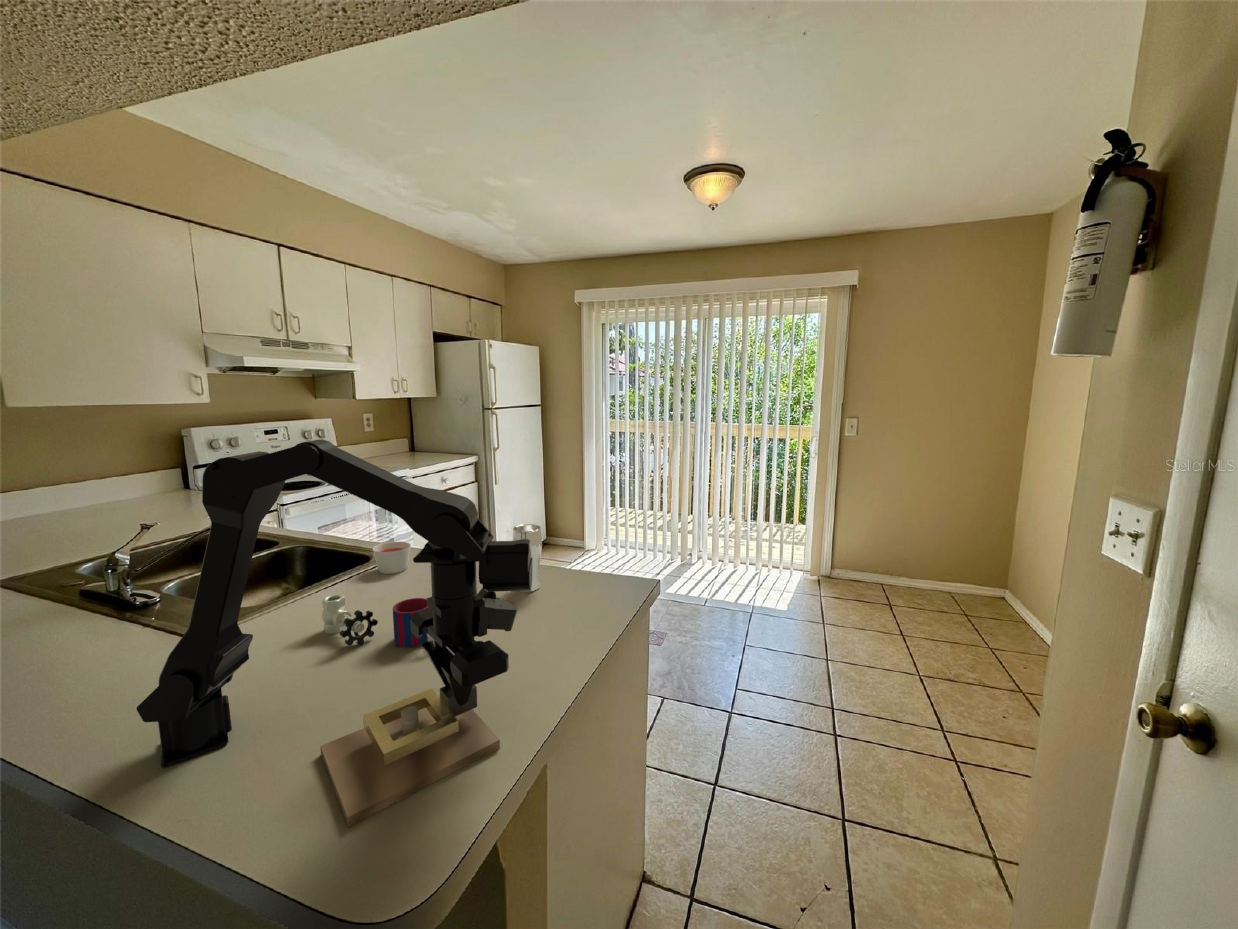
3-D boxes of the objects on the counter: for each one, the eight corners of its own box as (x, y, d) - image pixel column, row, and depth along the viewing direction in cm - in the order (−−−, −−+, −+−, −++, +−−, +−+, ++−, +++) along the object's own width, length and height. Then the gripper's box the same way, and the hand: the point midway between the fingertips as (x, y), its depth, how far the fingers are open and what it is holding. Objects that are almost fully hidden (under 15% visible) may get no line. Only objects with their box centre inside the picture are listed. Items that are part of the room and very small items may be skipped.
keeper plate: (348, 827, 52) (344, 780, 51) (321, 754, 62) (317, 714, 61) (499, 747, 63) (499, 708, 63) (455, 697, 74) (454, 663, 73)
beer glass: (507, 591, 114) (506, 530, 112) (521, 580, 121) (521, 522, 119) (534, 595, 112) (533, 533, 110) (547, 584, 119) (546, 525, 117)
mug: (416, 627, 96) (414, 595, 95) (452, 639, 91) (451, 606, 90) (386, 642, 90) (384, 608, 89) (423, 656, 85) (422, 620, 84)
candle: (387, 578, 121) (386, 554, 120) (366, 571, 125) (365, 548, 124) (418, 568, 128) (417, 545, 127) (398, 561, 133) (397, 539, 132)
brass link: (384, 766, 56) (383, 742, 56) (363, 726, 63) (362, 705, 62) (487, 717, 65) (486, 697, 64) (459, 687, 71) (458, 668, 71)
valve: (312, 633, 93) (343, 652, 86) (309, 601, 92) (340, 618, 85) (347, 620, 98) (379, 638, 92) (345, 590, 97) (377, 605, 91)
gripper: (543, 597, 63) (544, 706, 65) (479, 559, 76) (481, 651, 79) (462, 623, 55) (465, 745, 57) (406, 576, 69) (411, 676, 71)
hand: (458, 698), depth 66 cm, fingers closed on brass link, 3 cm apart
